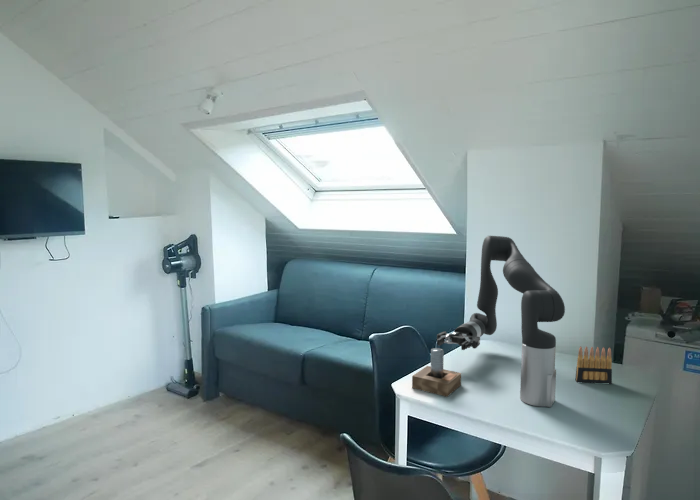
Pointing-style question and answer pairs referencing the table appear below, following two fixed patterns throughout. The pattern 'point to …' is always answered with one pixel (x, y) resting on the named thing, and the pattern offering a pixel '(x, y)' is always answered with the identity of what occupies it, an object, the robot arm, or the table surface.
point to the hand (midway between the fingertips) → (450, 344)
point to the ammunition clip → (594, 367)
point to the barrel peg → (437, 362)
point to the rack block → (436, 381)
